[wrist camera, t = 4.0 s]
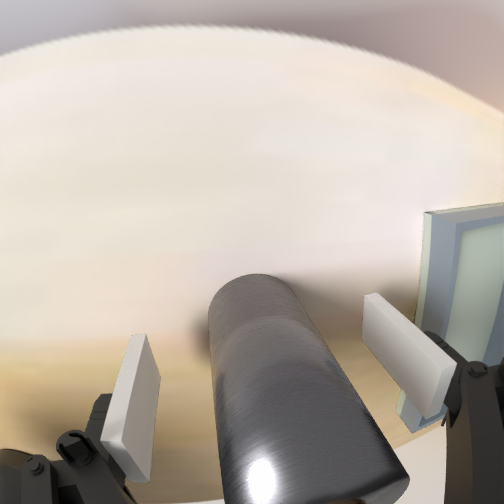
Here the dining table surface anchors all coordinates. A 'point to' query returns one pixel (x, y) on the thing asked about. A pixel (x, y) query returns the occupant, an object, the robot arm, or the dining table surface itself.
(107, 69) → the dining table surface
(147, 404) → the robot arm
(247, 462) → the cell
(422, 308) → the trough
